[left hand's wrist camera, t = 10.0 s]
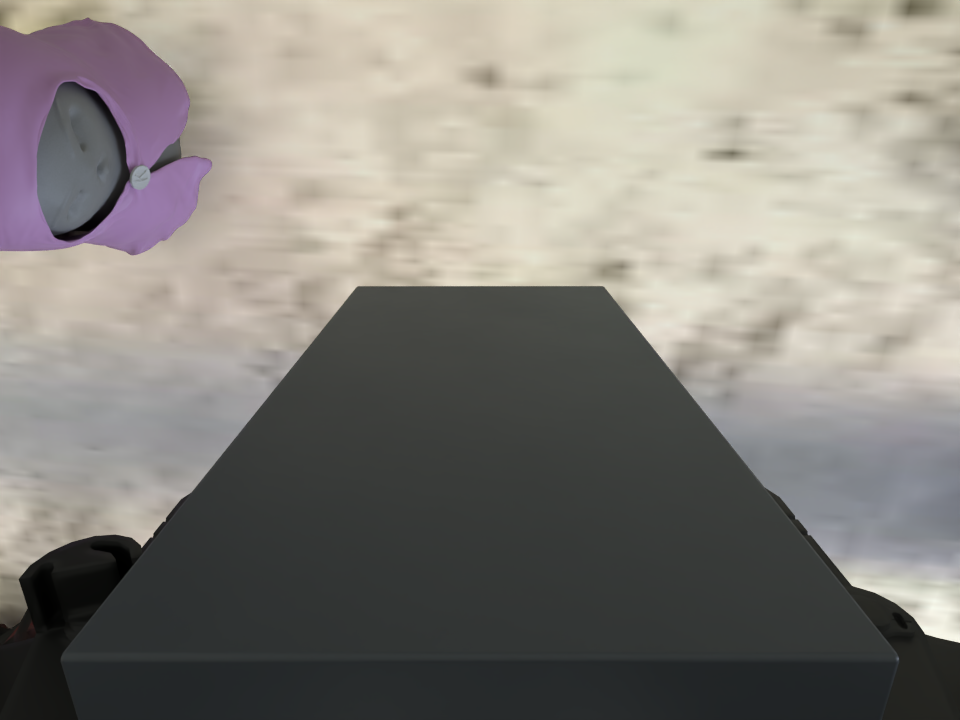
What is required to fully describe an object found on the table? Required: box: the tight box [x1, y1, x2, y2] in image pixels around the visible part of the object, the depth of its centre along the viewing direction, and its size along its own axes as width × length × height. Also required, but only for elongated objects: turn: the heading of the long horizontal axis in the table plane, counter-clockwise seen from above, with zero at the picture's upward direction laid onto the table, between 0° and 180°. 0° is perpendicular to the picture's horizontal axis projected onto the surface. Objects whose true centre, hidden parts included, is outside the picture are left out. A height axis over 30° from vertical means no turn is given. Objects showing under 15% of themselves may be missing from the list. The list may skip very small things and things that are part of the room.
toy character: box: [0, 18, 212, 255], centre depth 27 cm, size 12×10×20 cm
